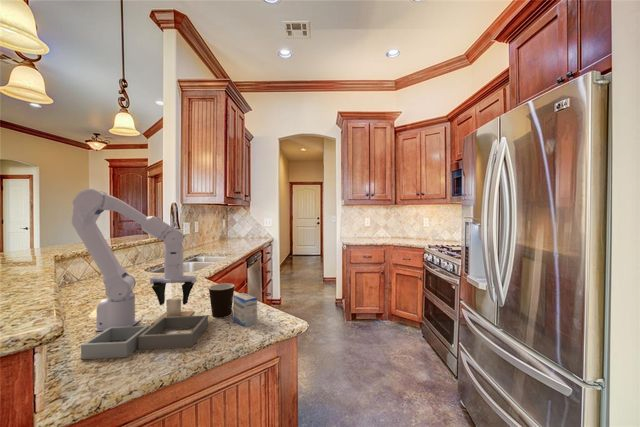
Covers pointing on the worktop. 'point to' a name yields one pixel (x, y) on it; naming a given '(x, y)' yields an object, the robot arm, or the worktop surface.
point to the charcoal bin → (181, 340)
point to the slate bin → (106, 349)
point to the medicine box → (245, 309)
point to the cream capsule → (173, 307)
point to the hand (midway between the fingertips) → (173, 303)
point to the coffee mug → (221, 299)
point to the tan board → (185, 313)
